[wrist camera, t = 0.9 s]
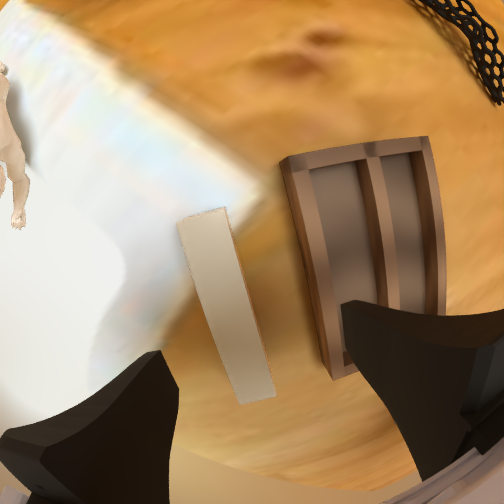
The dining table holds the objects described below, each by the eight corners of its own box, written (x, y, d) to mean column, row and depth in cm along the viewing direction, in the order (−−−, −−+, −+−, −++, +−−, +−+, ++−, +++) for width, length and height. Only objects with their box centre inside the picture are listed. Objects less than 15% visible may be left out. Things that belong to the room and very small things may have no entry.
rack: (427, 318, 21) (444, 330, 19) (322, 361, 21) (332, 380, 18) (407, 141, 18) (427, 135, 15) (279, 162, 18) (287, 156, 15)
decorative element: (500, 93, 18) (531, 85, 12) (492, 111, 18) (527, 104, 12) (375, -43, 14) (394, -68, 8) (354, -37, 14) (374, -66, 8)
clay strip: (267, 356, 21) (277, 396, 16) (236, 364, 21) (239, 405, 16) (225, 206, 18) (224, 209, 13) (189, 216, 18) (175, 223, 13)
